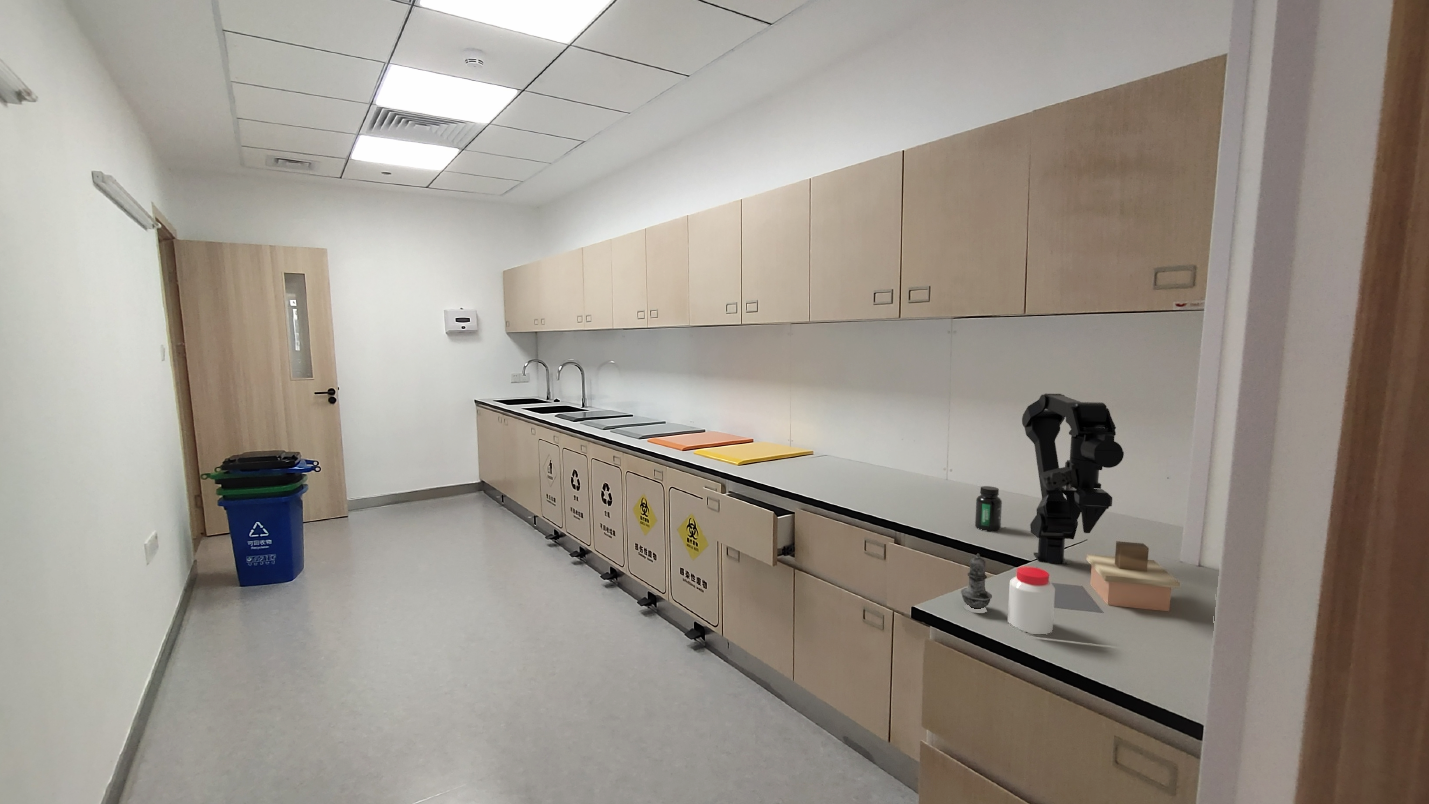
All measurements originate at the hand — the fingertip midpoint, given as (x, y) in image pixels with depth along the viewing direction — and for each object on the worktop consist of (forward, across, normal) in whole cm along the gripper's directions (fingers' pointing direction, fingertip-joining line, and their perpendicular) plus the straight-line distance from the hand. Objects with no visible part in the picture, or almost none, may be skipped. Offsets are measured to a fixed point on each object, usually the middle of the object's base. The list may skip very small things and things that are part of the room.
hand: (1080, 526), depth 138 cm
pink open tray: (+13, +7, +8) cm, 17 cm away
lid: (+7, +7, +8) cm, 13 cm away
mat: (+13, +10, -7) cm, 18 cm away
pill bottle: (+13, +27, -15) cm, 34 cm away
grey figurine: (+13, +22, -24) cm, 35 cm away
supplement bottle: (+13, -38, -13) cm, 42 cm away
